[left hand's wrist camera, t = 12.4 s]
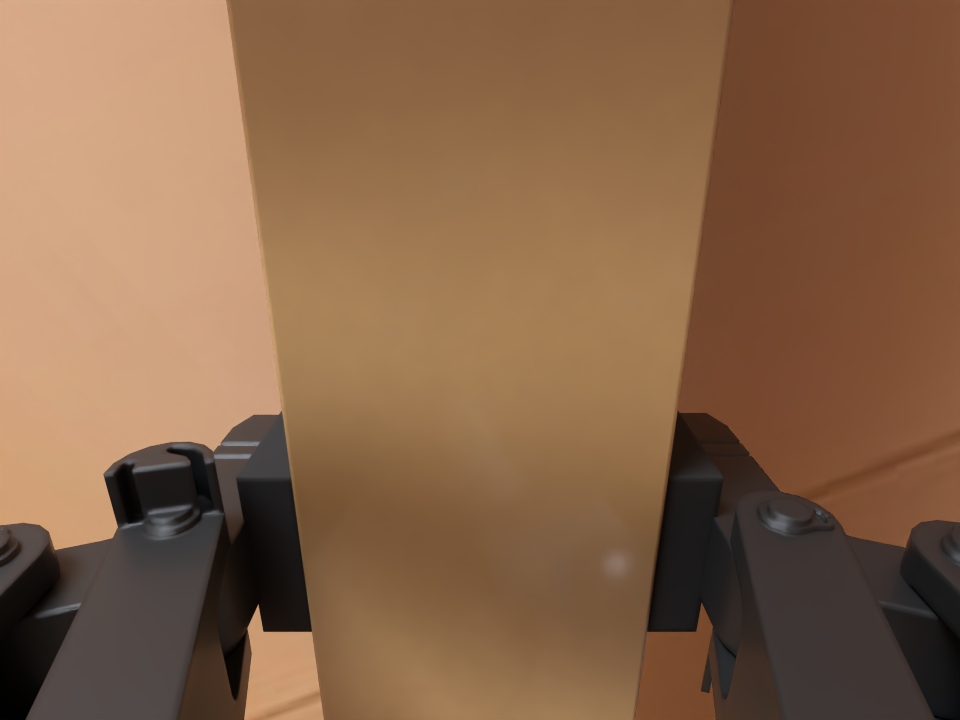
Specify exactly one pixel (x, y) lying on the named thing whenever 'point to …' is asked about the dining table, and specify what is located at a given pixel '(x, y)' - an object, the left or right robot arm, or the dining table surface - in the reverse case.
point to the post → (479, 331)
